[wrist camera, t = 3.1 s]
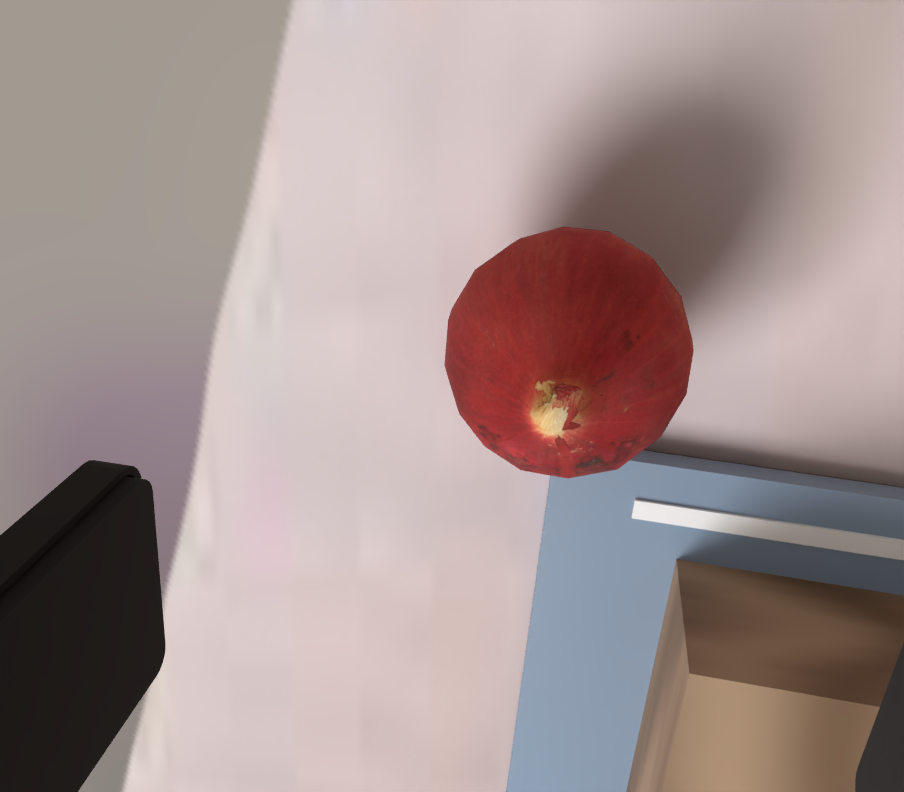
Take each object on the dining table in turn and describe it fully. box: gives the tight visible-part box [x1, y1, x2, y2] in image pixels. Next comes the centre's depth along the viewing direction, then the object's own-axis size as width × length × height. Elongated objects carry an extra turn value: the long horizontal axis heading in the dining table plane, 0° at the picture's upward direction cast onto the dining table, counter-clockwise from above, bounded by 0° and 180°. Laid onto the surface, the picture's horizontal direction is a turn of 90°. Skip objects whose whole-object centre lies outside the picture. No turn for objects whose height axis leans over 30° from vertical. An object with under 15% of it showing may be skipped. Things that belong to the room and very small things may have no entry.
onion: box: [445, 227, 693, 479], centre depth 20 cm, size 6×6×8 cm
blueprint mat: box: [506, 450, 904, 792], centre depth 27 cm, size 18×16×1 cm
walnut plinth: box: [626, 559, 904, 792], centre depth 25 cm, size 10×10×5 cm
